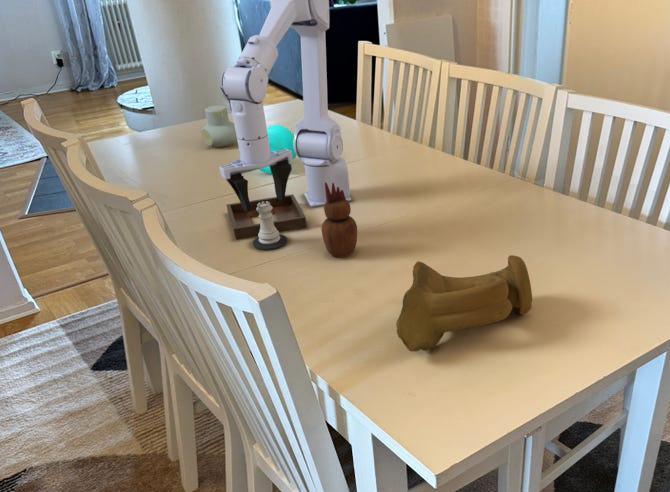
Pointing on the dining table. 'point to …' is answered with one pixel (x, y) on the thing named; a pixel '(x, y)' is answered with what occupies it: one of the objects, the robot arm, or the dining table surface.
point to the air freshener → (218, 127)
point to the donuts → (279, 141)
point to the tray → (284, 211)
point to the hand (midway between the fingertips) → (264, 204)
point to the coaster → (270, 247)
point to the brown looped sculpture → (459, 302)
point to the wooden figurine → (338, 224)
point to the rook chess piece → (267, 225)
